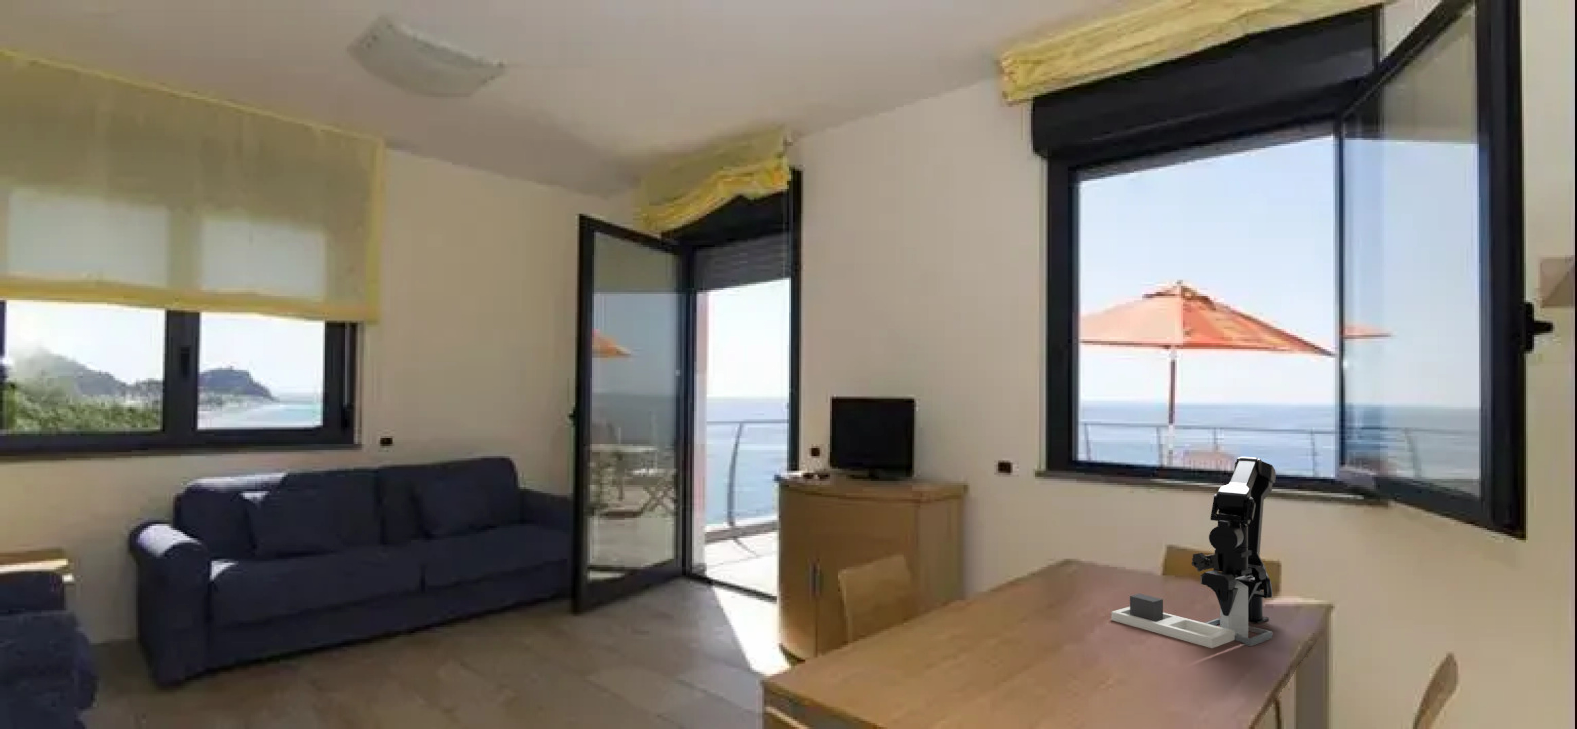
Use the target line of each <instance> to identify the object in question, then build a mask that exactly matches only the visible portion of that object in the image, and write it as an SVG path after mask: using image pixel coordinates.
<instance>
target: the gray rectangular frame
mask: <svg viewBox="0 0 1577 729" xmlns="http://www.w3.org/2000/svg"><path fill="white" fill-rule="evenodd" d="M1205 623H1206V624H1210V625H1214V626H1218V625H1220V618H1219V617H1217V618H1215V619H1212V620H1209V621H1207V622H1205ZM1248 632H1252V633H1255V634H1257V635H1254V636H1252V637H1248V638H1247V637H1243V636H1239V635H1235V640H1234V641H1236V642H1237V641H1238V642H1241V644H1242V645H1244V646H1248V647H1253V646H1255V645H1258V644H1261V643H1263V642H1266V641H1268V640H1271V639H1273V631H1272V630H1269V629H1263V628H1259V627H1255V626H1250V625H1248ZM1270 638H1271V639H1270ZM1265 640H1266V641H1265Z"/></svg>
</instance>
